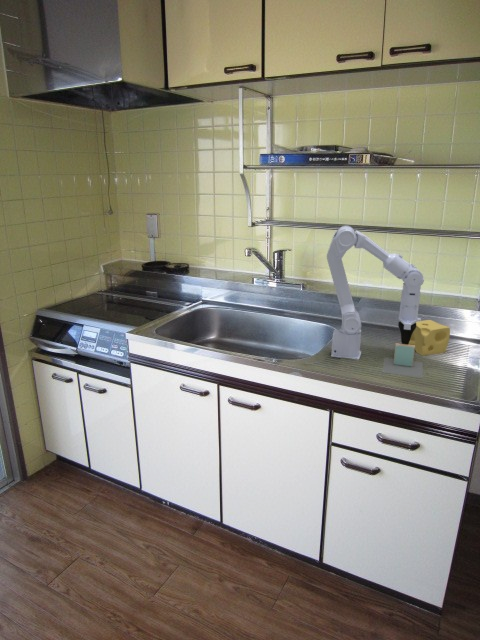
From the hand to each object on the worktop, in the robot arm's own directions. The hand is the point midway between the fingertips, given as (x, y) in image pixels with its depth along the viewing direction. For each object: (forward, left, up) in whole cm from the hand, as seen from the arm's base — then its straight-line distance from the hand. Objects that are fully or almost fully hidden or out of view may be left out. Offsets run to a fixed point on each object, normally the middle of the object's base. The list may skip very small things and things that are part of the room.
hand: (405, 343), depth 155 cm
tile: (0, -7, -5) cm, 9 cm away
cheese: (+7, +11, -6) cm, 14 cm away
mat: (0, -9, -6) cm, 11 cm away
